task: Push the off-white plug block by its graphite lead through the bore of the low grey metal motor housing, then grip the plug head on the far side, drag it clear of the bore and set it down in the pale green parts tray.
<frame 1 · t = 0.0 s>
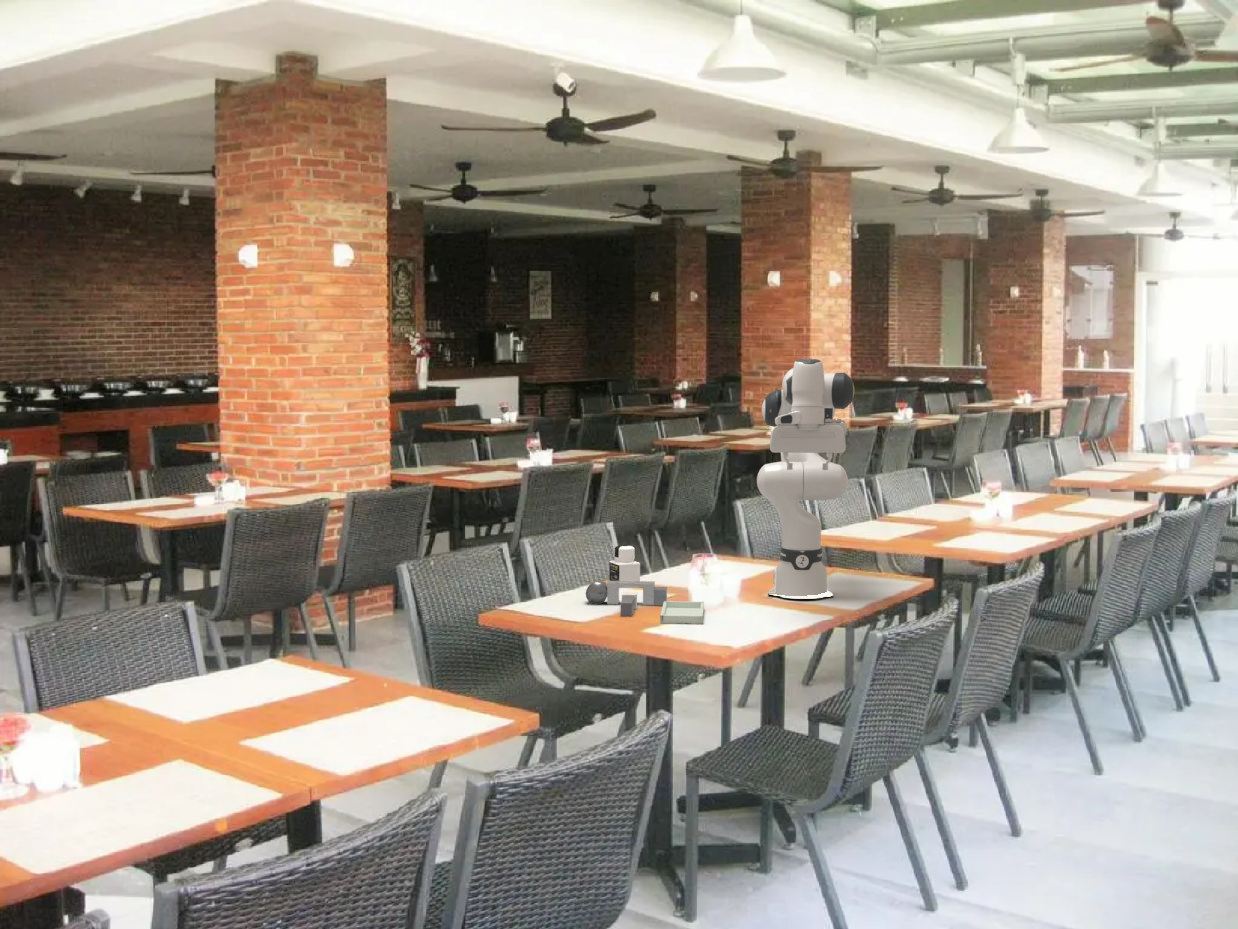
hand: (807, 469, 358), 39 cm above the table, tool pointing down, fingers open, 8 cm apart
tray: (682, 616, 356), on the table
plug: (628, 611, 362), on the table
medicine bottle: (624, 585, 402), on the table
housing: (630, 603, 373), on the table
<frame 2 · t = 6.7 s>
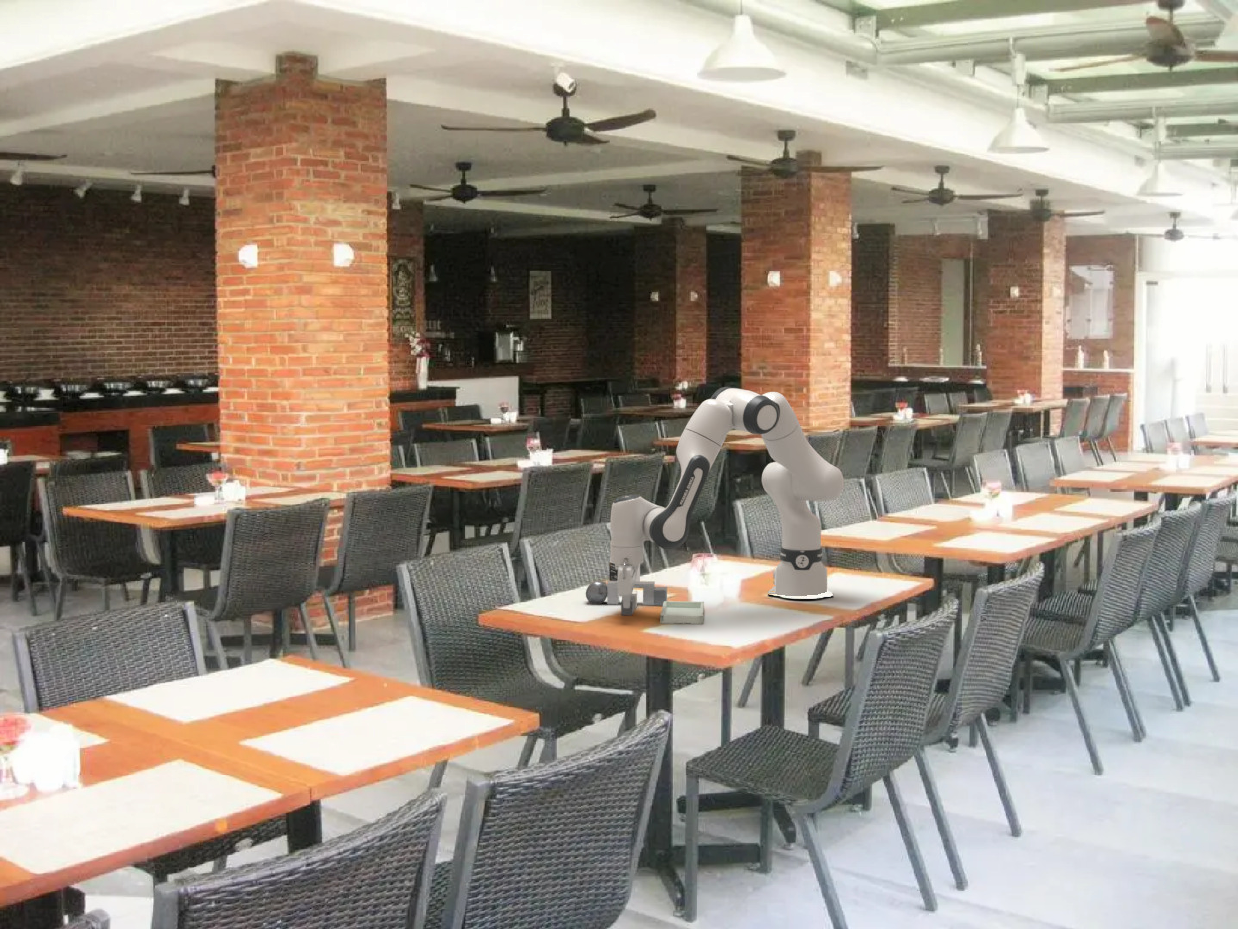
hand: (626, 607, 355), 2 cm above the table, tool pointing down, fingers closed
plug: (628, 610, 363), on the table, touching gripper
everything else where it was.
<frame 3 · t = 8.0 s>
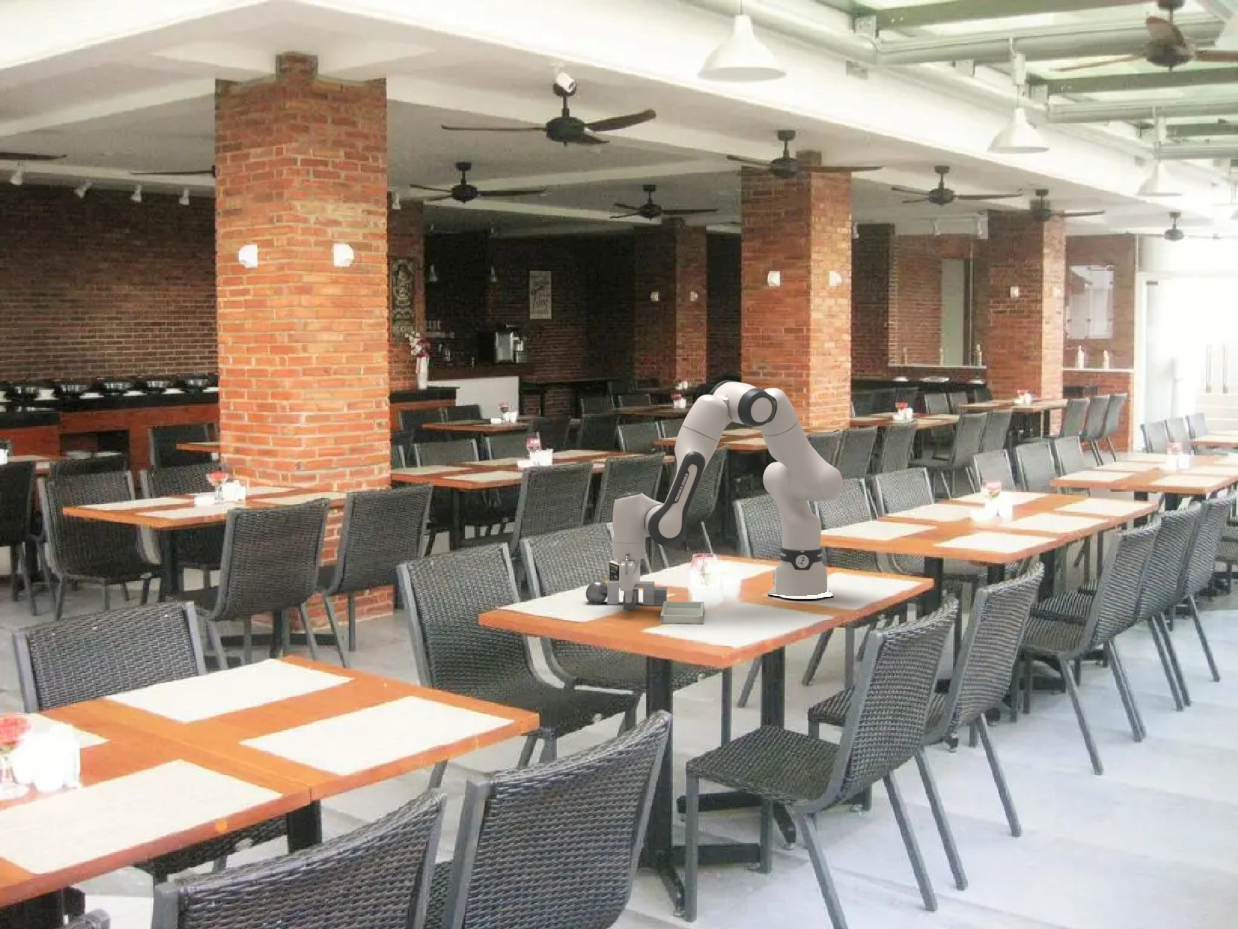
hand: (628, 601, 362), 2 cm above the table, tool pointing down, fingers closed
plug: (630, 604, 371), on the table, touching gripper
everything else where it was.
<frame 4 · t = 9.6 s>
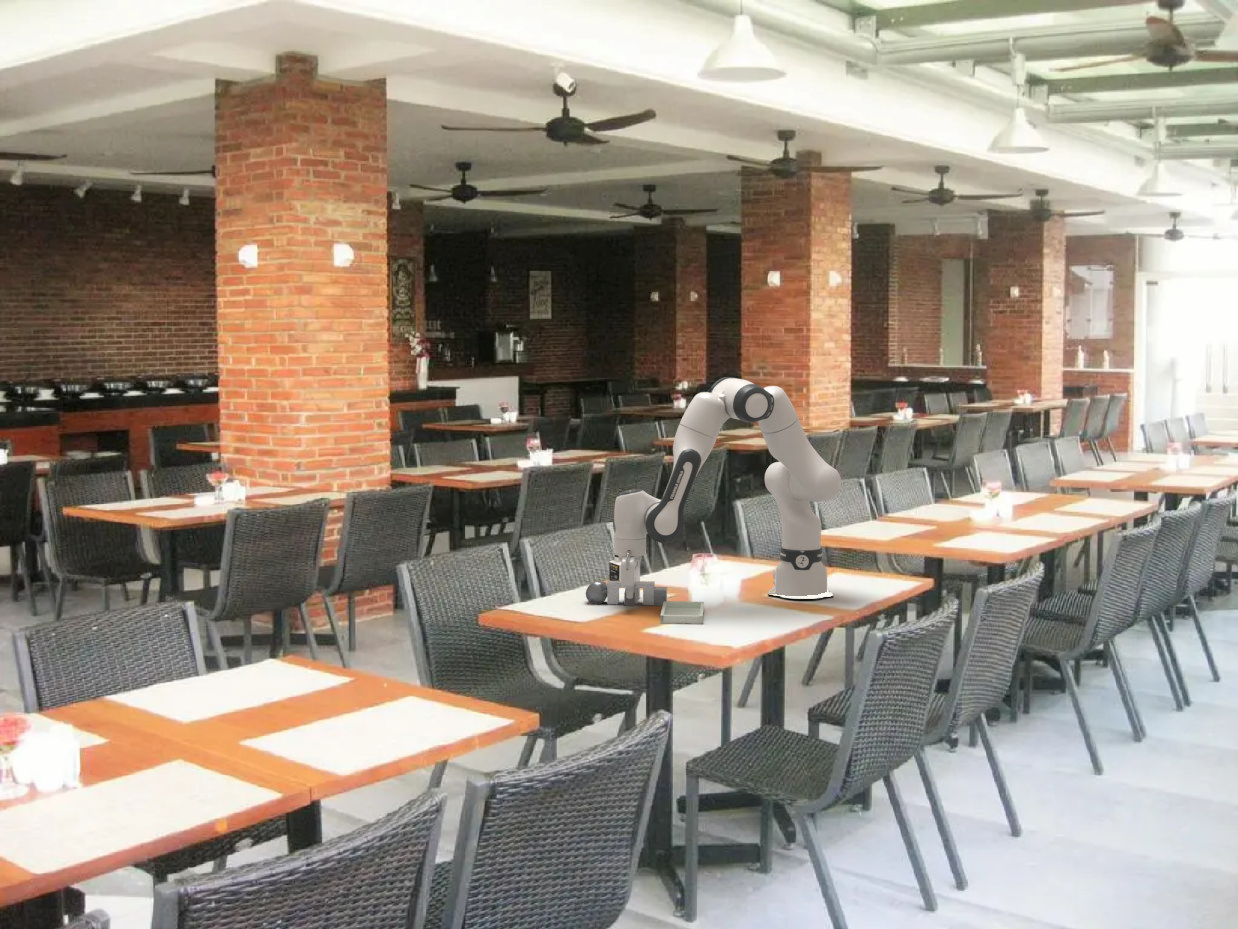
hand: (629, 597, 368), 3 cm above the table, tool pointing down, fingers closed
plug: (631, 601, 376), on the table, touching gripper
everything else where it was.
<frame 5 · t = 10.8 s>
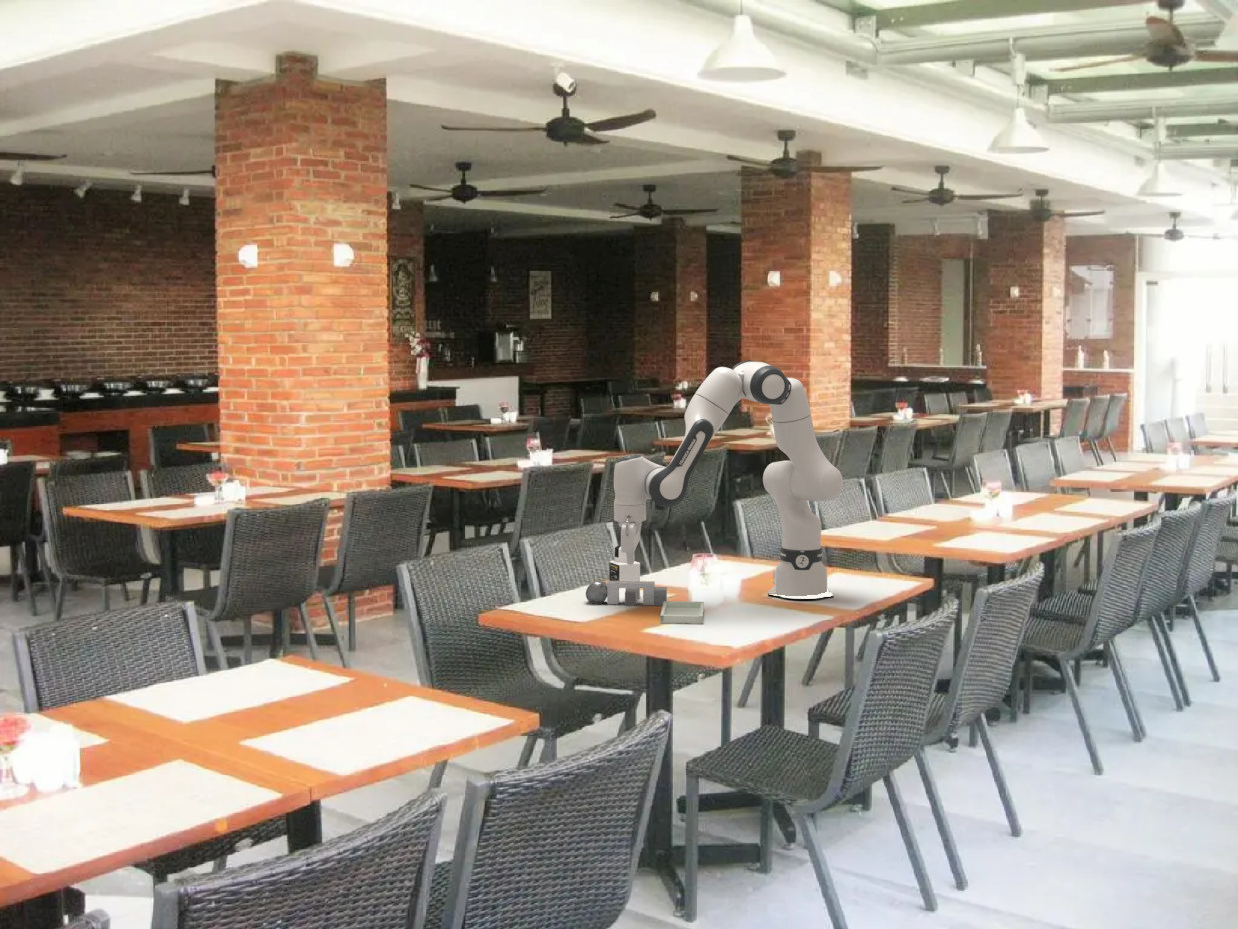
hand: (630, 563, 368), 12 cm above the table, tool pointing down, fingers closed
plug: (631, 601, 377), on the table
everything else where it was.
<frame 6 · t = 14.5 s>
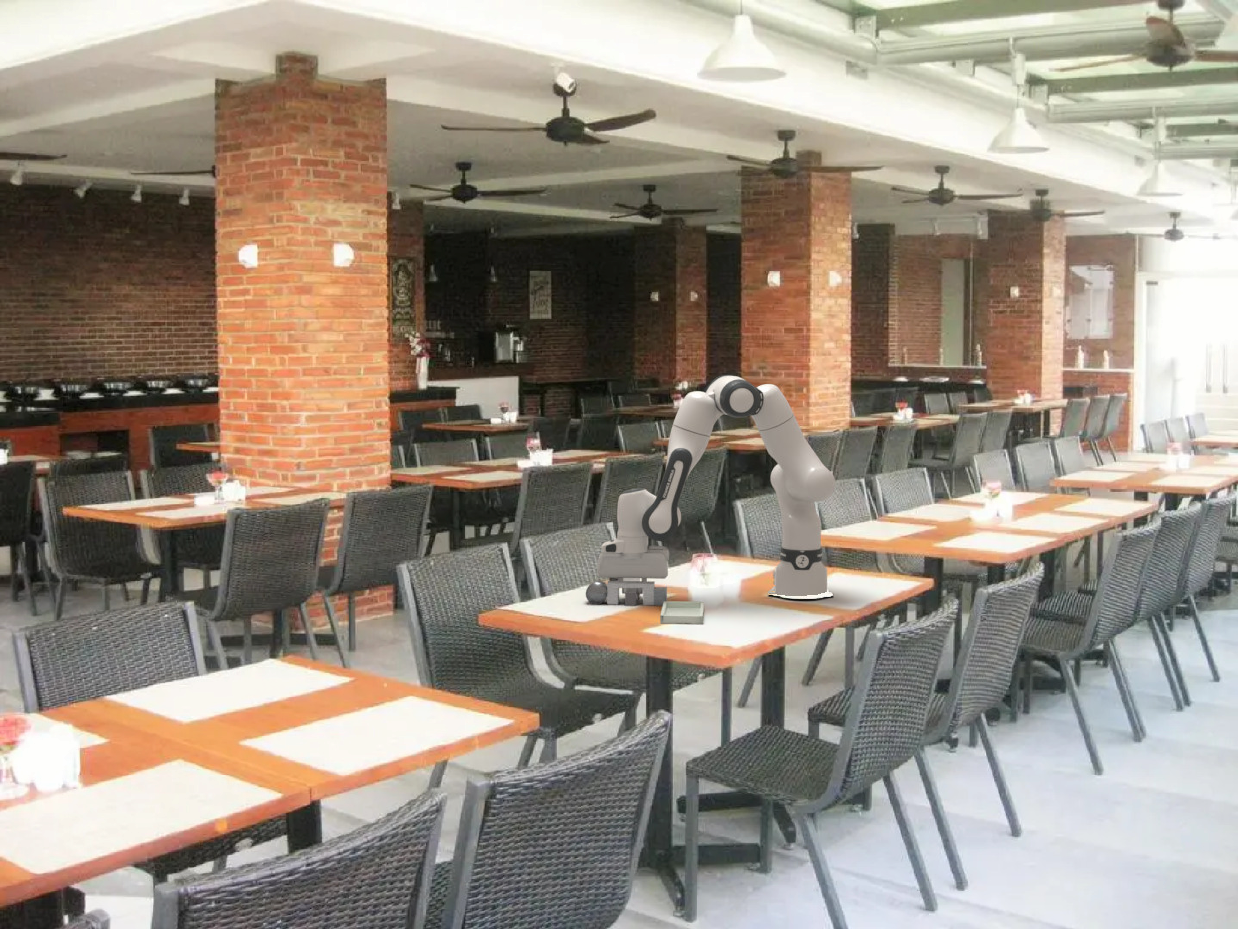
hand: (632, 593, 379), 2 cm above the table, tool pointing down, fingers closed on plug, 3 cm apart
plug: (631, 600, 377), on the table, touching gripper
everything else where it was.
when the fingers open (4 cm above the table, at t = 23.2 s): plug stays where it is, resting on tray.
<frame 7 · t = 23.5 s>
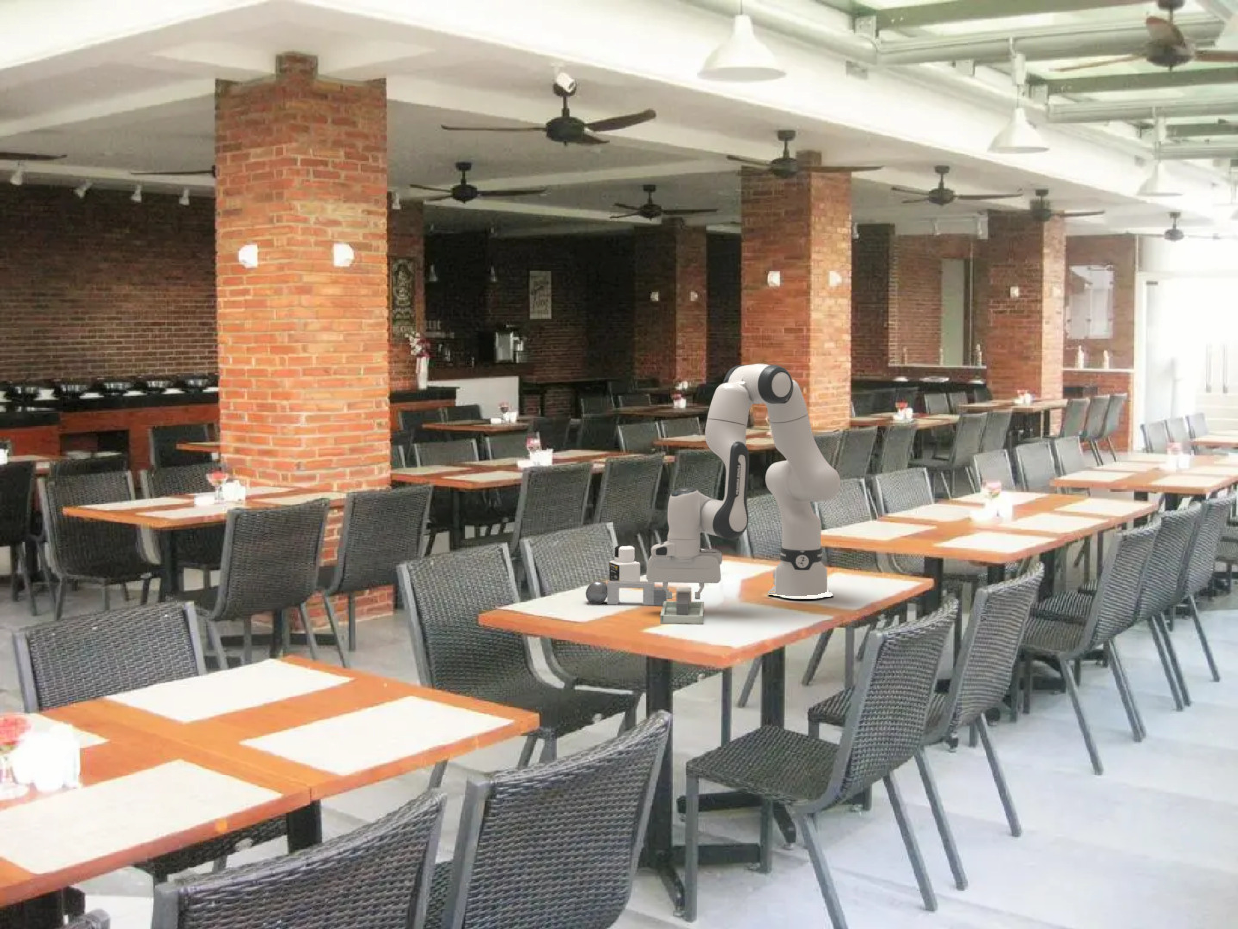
hand: (683, 598, 360), 4 cm above the table, tool pointing down, fingers open, 6 cm apart
plug: (683, 608, 359), point 1 cm above the table, tilted 7°, touching tray
everything else where it was.
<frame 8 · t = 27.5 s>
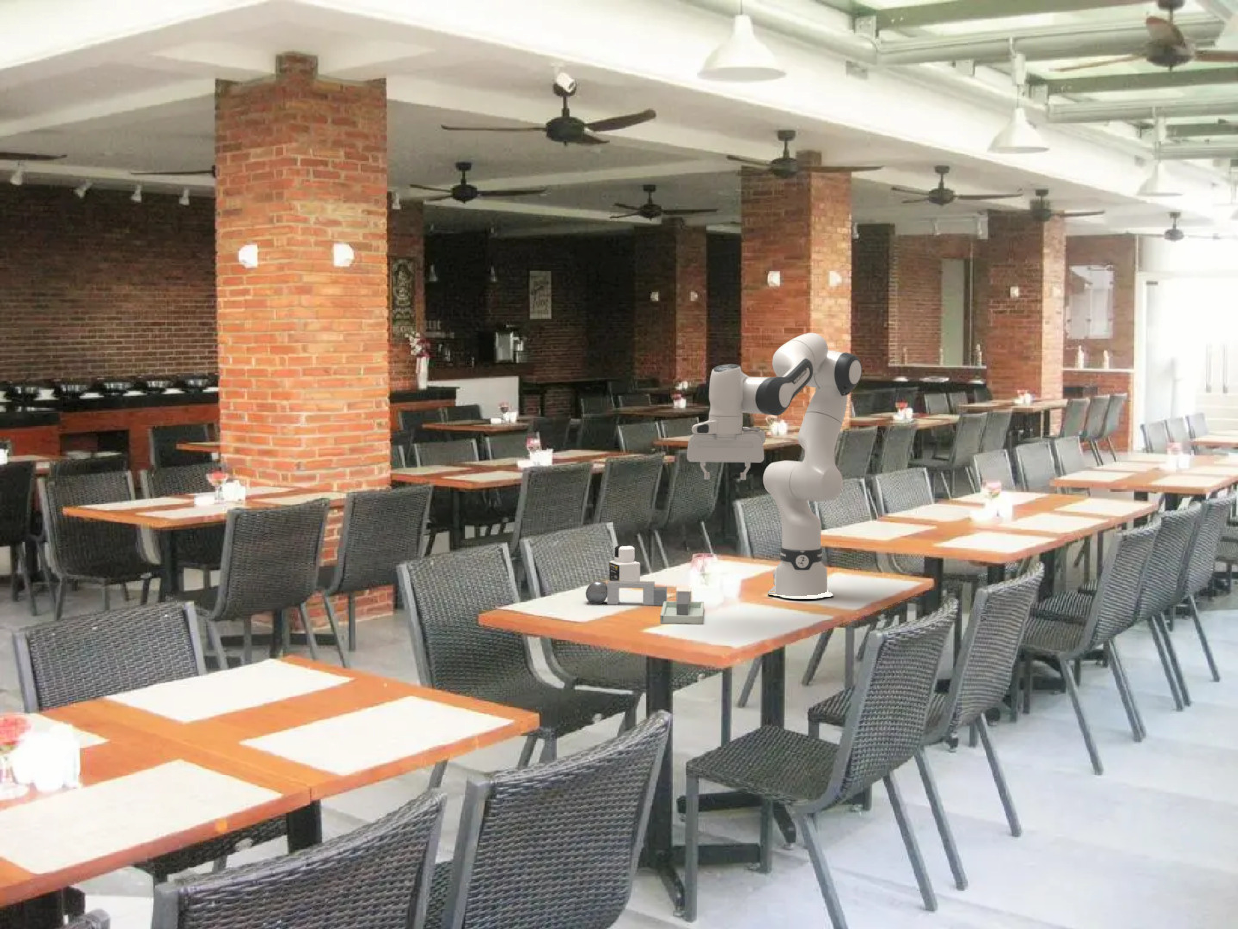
hand: (725, 479, 349), 37 cm above the table, tool pointing down, fingers open, 8 cm apart
nothing on the table moved.
at the end: plug inside the target area on the tray (3.3 cm from its centre), point 1.3 cm above the tray's base; the gripper is holding nothing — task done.
